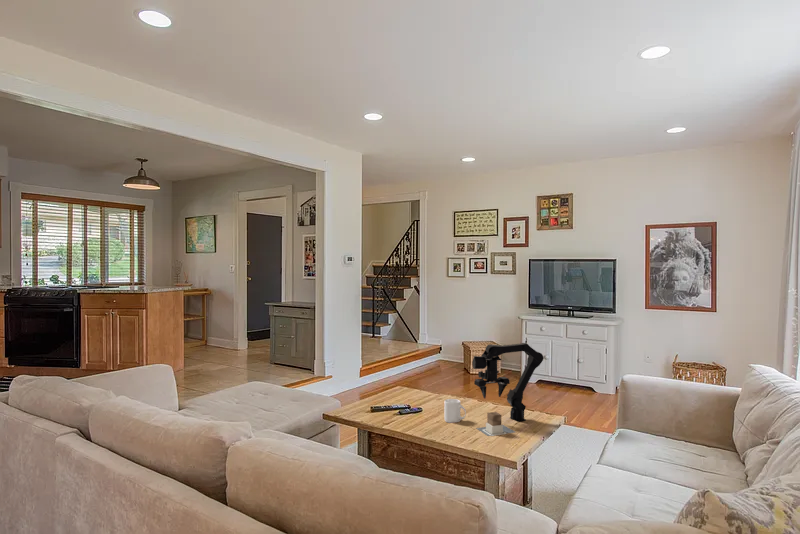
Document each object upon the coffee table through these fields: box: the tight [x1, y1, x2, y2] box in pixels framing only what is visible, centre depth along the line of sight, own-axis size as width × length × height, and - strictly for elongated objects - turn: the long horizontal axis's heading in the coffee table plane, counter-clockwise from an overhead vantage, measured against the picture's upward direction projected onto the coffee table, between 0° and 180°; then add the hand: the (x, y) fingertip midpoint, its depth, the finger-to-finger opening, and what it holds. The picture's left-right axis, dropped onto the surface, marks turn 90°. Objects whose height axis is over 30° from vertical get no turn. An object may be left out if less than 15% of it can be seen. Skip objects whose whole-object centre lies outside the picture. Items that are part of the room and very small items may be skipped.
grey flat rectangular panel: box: [475, 424, 516, 437], centre depth 237 cm, size 16×12×1 cm
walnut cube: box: [486, 411, 502, 426], centre depth 235 cm, size 5×5×5 cm
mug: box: [443, 398, 467, 424], centre depth 253 cm, size 9×12×11 cm
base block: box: [485, 422, 504, 435], centre depth 235 cm, size 6×6×4 cm
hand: (492, 397), depth 254 cm, fingers open, 9 cm apart
